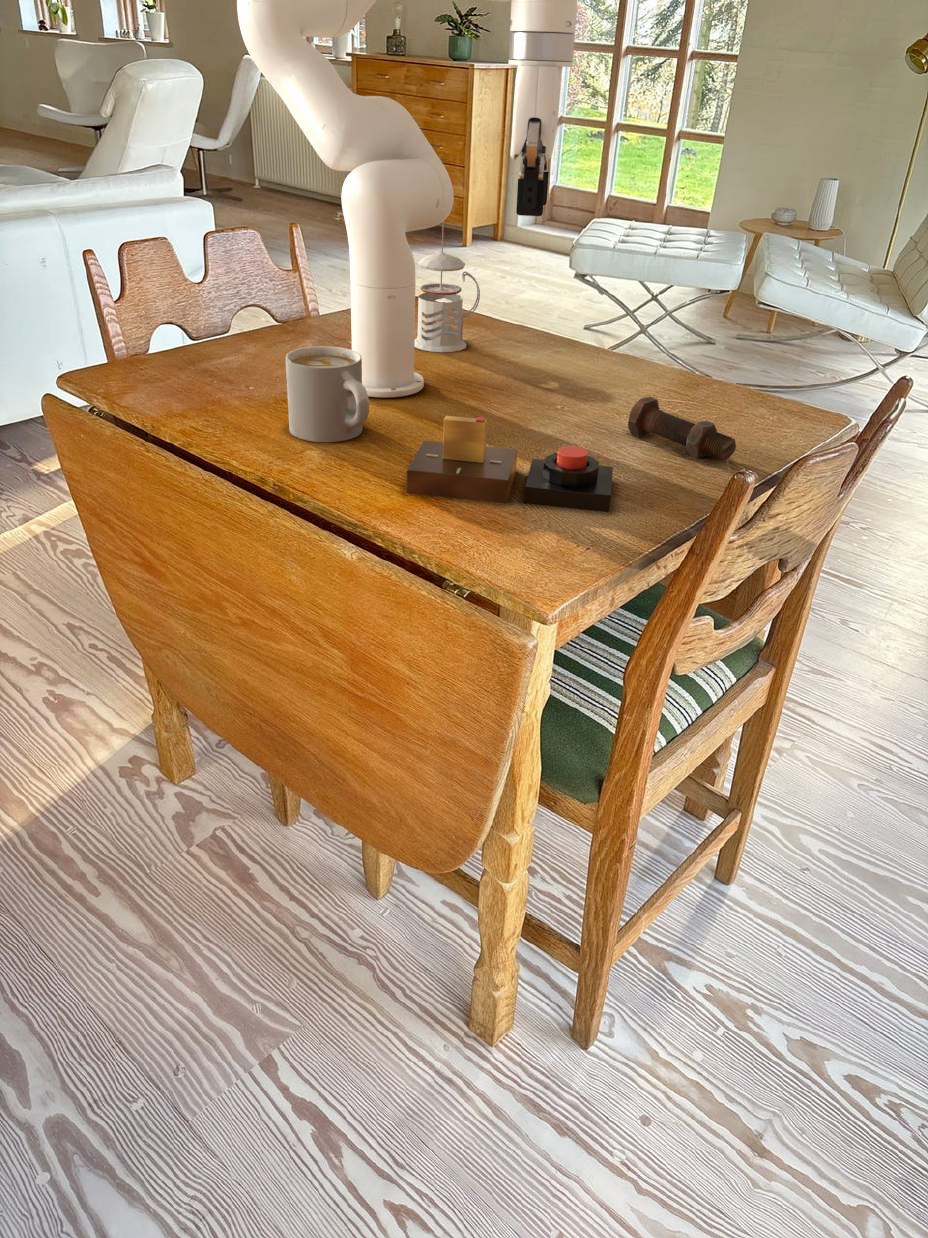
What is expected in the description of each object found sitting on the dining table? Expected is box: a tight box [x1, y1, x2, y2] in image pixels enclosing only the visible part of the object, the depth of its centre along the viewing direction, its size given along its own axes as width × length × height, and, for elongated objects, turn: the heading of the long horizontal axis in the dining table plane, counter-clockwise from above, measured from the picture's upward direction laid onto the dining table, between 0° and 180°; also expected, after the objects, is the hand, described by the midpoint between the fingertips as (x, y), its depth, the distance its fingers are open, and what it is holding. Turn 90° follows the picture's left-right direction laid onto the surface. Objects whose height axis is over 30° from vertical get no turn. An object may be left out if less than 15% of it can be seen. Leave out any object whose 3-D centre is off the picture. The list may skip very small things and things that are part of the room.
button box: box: [523, 452, 614, 513], centre depth 115 cm, size 10×9×4 cm
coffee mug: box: [285, 345, 370, 443], centre depth 127 cm, size 13×10×10 cm
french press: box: [415, 220, 481, 353], centre depth 163 cm, size 10×12×25 cm
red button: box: [556, 445, 589, 469], centre depth 114 cm, size 4×4×2 cm
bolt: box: [627, 396, 737, 461], centre depth 129 cm, size 6×5×15 cm
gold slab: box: [442, 415, 488, 463], centre depth 114 cm, size 5×1×5 cm, turn 81°
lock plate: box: [406, 440, 518, 504], centre depth 117 cm, size 12×10×3 cm
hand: (531, 209), depth 120 cm, fingers open, 9 cm apart
